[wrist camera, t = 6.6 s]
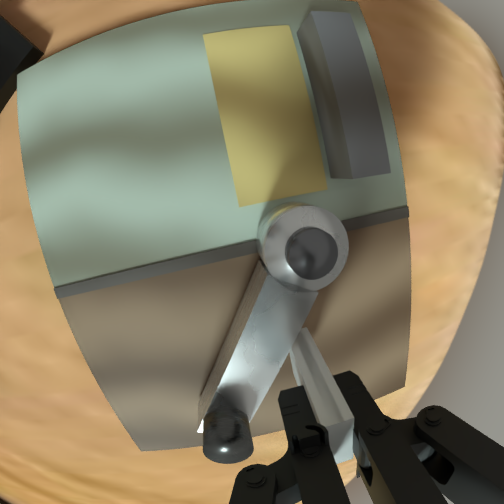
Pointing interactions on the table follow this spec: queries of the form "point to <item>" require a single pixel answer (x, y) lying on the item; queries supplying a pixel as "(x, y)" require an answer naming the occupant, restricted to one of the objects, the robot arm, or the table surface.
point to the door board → (214, 196)
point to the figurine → (13, 59)
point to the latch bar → (268, 321)
